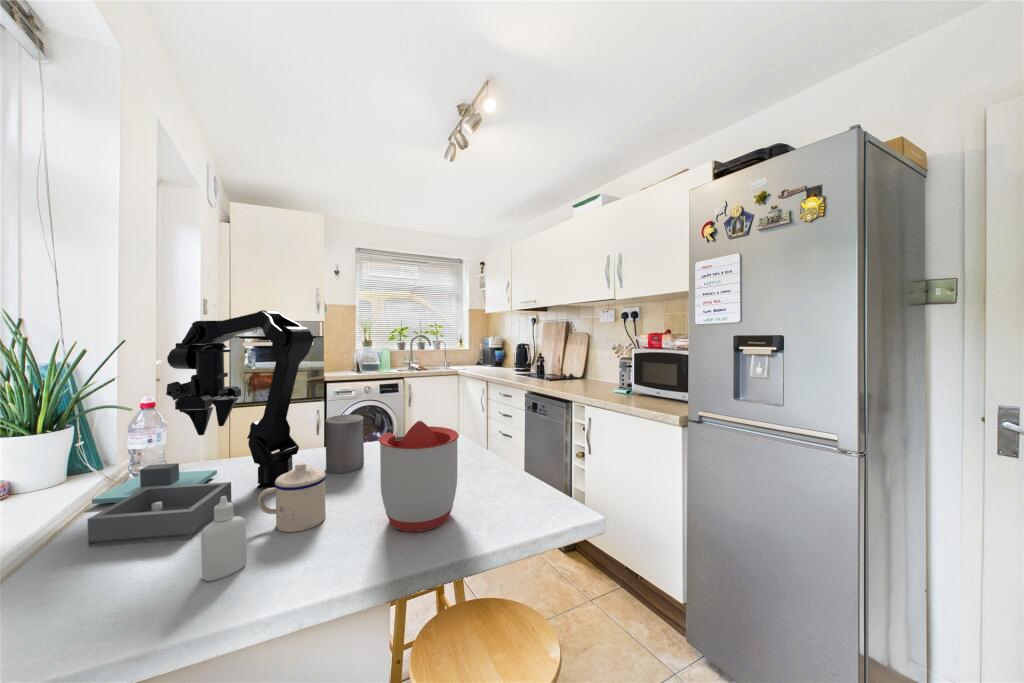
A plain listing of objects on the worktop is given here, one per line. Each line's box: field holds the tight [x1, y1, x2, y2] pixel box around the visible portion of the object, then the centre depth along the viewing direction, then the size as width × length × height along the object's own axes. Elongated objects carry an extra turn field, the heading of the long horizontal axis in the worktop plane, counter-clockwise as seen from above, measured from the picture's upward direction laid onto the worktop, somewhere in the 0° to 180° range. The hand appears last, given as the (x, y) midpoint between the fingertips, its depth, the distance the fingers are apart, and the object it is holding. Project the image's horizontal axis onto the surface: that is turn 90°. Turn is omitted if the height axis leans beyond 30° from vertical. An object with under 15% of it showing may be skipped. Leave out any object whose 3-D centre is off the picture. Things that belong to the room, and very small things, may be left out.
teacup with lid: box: [257, 462, 327, 533], centre depth 78 cm, size 12×9×12 cm
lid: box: [91, 463, 218, 505], centre depth 92 cm, size 17×15×6 cm
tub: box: [87, 481, 232, 548], centre depth 77 cm, size 16×14×5 cm
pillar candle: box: [325, 413, 365, 474], centre depth 108 cm, size 10×10×15 cm
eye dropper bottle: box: [200, 496, 248, 582], centre depth 62 cm, size 4×6×12 cm
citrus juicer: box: [378, 420, 460, 533], centre depth 80 cm, size 16×17×20 cm
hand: (211, 430), depth 101 cm, fingers open, 9 cm apart
